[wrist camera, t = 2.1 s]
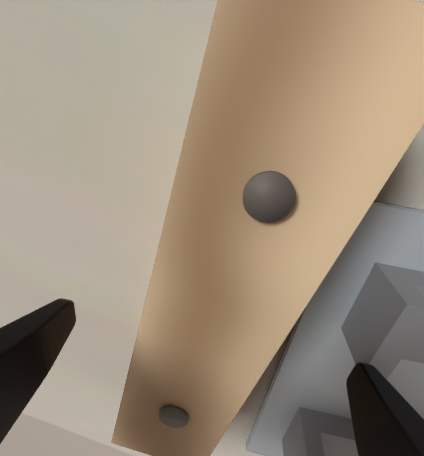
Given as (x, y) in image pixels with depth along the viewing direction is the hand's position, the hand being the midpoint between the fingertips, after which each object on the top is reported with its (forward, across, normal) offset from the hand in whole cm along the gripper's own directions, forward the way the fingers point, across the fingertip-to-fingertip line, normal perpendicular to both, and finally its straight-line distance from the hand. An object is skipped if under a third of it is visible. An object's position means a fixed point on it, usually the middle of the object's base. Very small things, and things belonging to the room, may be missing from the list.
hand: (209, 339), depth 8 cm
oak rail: (+5, 0, 0) cm, 5 cm away
